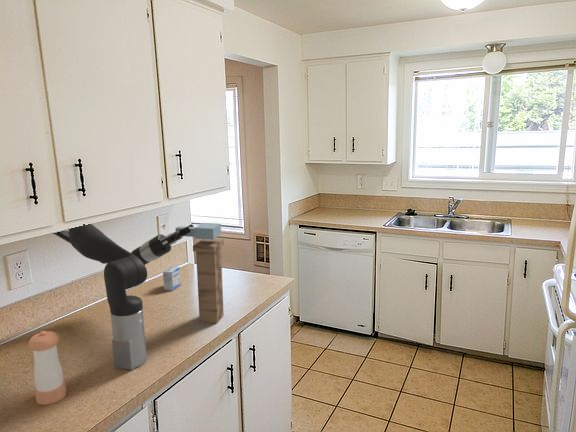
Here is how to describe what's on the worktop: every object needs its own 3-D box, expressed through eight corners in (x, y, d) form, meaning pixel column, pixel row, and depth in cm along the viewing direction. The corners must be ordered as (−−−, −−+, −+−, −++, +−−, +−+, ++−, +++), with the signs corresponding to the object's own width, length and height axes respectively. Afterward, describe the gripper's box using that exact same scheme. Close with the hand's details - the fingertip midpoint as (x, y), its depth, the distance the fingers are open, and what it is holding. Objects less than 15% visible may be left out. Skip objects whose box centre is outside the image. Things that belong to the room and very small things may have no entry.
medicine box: (173, 291, 188) (171, 272, 187) (163, 290, 189) (162, 271, 187) (181, 284, 196) (179, 266, 194) (172, 284, 197) (170, 266, 195)
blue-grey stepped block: (213, 239, 150) (213, 228, 149) (172, 237, 153) (172, 226, 152) (221, 234, 158) (220, 223, 157) (182, 232, 161) (181, 222, 160)
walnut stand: (217, 325, 156) (214, 247, 150) (196, 323, 157) (192, 245, 151) (226, 313, 165) (223, 239, 159) (206, 312, 167) (203, 238, 161)
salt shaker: (29, 401, 113) (19, 335, 109) (53, 386, 120) (44, 323, 116) (49, 407, 111) (40, 340, 107) (72, 391, 117) (64, 327, 113)
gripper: (140, 244, 153) (177, 223, 148) (159, 235, 166) (193, 214, 162) (151, 262, 153) (188, 241, 149) (168, 251, 167) (203, 231, 162)
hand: (191, 227), depth 155 cm, fingers closed on blue-grey stepped block, 3 cm apart
